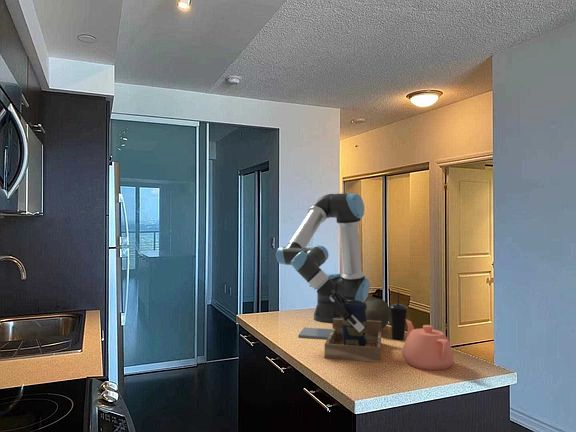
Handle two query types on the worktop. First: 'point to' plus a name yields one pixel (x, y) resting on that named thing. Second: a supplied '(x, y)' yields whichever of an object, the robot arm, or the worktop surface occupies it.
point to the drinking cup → (398, 320)
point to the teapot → (427, 348)
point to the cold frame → (350, 350)
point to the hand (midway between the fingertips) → (362, 326)
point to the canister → (349, 331)
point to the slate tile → (315, 333)
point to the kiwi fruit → (378, 311)
